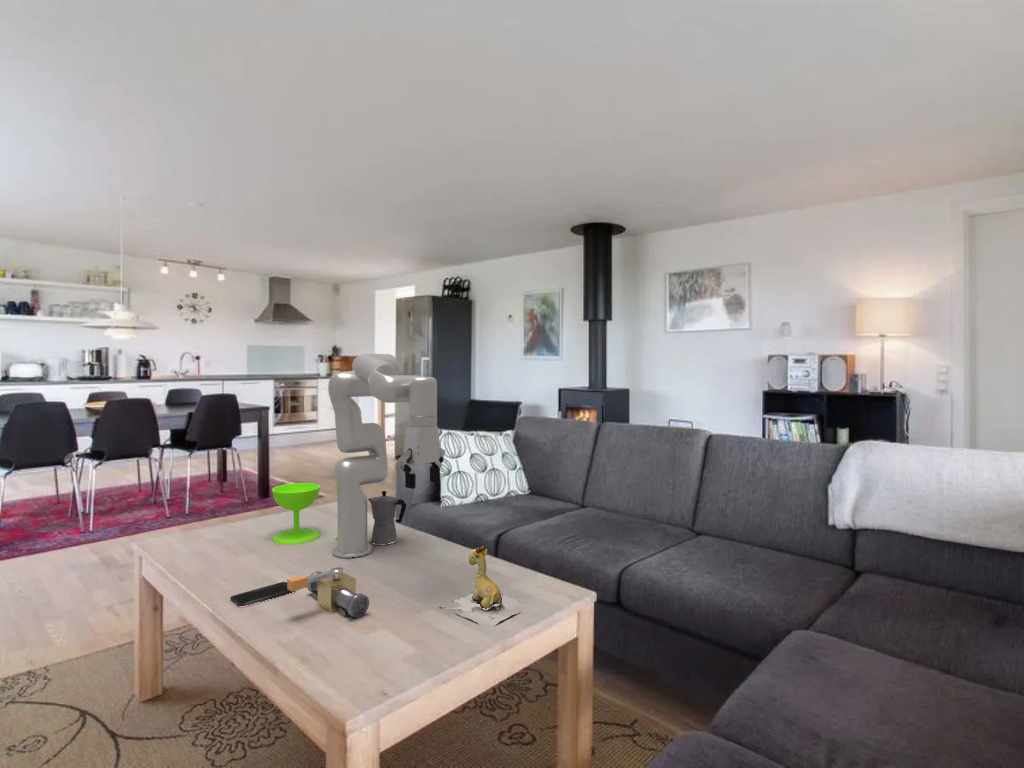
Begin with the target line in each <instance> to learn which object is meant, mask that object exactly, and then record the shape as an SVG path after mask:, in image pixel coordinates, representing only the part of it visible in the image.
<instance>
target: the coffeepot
mask: <svg viewBox="0 0 1024 768" xmlns="http://www.w3.org/2000/svg"><path fill="white" fill-rule="evenodd" d="M381 494H382V495H380V496H375V497H373V496H372V497H369V498H367V501H369V503H370V505H371V506H370V507H371V513H372V519H373V521H374V524H373V526H372V527H373V528H372V534H371V539H370V543H371V542H372V543H375V544H388V543H391V542H394V541H396V539H397V540H398V534H397V530H396V529H397V528H396V523H399V524H400V523H402V522H403V519H404V515H405V512H406V509H407V503H406V502H405V501H404V499H401V498H400V499H399V498H397V497H395V496H392V495H391V496H390V495H387V491H386V490H383V491H381ZM397 505H399V506H400V513H399V514H398V519H395V517H396V511H397V510H396V509H397ZM395 522H396V523H395ZM372 543H371V544H372Z"/></svg>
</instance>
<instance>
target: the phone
mask: <svg viewBox="0 0 1024 768" xmlns="http://www.w3.org/2000/svg"><path fill="white" fill-rule="evenodd" d="M293 592H294V593H296V592H295V591H293ZM289 593H291V594H293V593H292V591H290V590H289V589H287V581H281V582H277V583H273V584H270V585H267V586H263V587H259V588H255V589H251V590H248V591H245V592H241V593H237V594H233V595H231V596H230V599H231V600H230V601H231V602H232V601H233V602H234V603H236V604H237V605H238V606H246V605H250V604H254V603H257V602H261V603H263V602H262V601H264V602H266V601H265V600H267V601H269V600H268V599H271V600H273V599H272V598H274V599H277V598H276V597H278V598H280V597H279V596H281V597H283V595H284V596H287V595H286V594H288V595H290V594H289ZM233 602H232V603H233ZM257 604H258V603H257ZM254 605H255V604H254ZM238 606H237V607H238ZM250 606H251V605H250Z"/></svg>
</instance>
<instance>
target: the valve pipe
mask: <svg viewBox="0 0 1024 768" xmlns="http://www.w3.org/2000/svg"><path fill="white" fill-rule="evenodd" d="M323 572H324V571H323ZM323 572H322V571H319V570H317V571H315V572H313V573H311V575H309V576H312V575H316V574H319V573H323ZM356 581H357V578H355V577H352V576H351V575H349V574H347V573H345V572H343V574H342V575H340V576H332V577H329V578H325V579H322V580H318V581H315V582H311V583H308V587H306V588H307V590H308V591H309V592H310V593H311V598H312V597H313V598H312V599H314V598H315V599H314V600H315V601H317V600H318V601H317V605H318V604H319V605H318V606H320V605H321V606H320V607H322V608H323V607H324V608H323V609H325V610H326V609H327V610H326V611H328V610H329V611H328V612H330V613H333V611H334V612H336V611H335V610H337V611H338V615H340V614H341V616H342V617H343V616H344V618H348V617H351V618H354V619H357V618H358V619H359V618H362V617H363V616H364V615H365V614H366V613H367V612H368V610H369V607H370V599H369V597H368V596H367V595H366V594H363V593H357V582H356ZM347 616H348V617H347Z"/></svg>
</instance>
